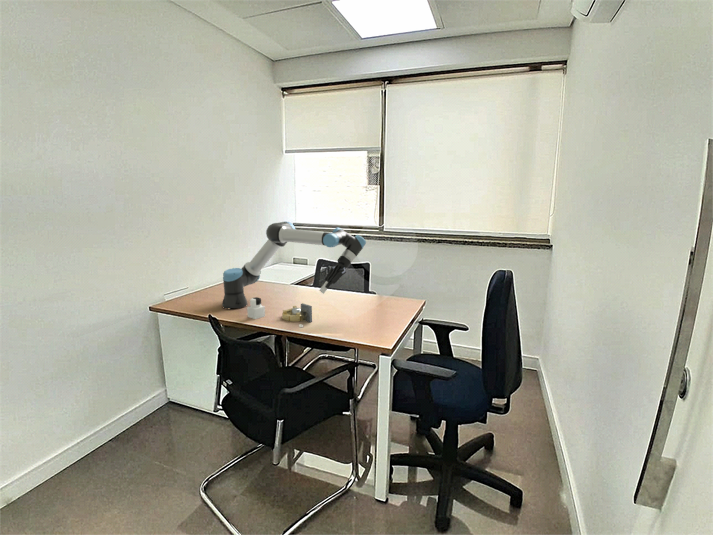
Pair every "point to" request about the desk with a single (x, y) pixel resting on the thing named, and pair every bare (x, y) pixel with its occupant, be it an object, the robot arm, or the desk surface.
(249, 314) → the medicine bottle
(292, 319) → the block with gold ring
